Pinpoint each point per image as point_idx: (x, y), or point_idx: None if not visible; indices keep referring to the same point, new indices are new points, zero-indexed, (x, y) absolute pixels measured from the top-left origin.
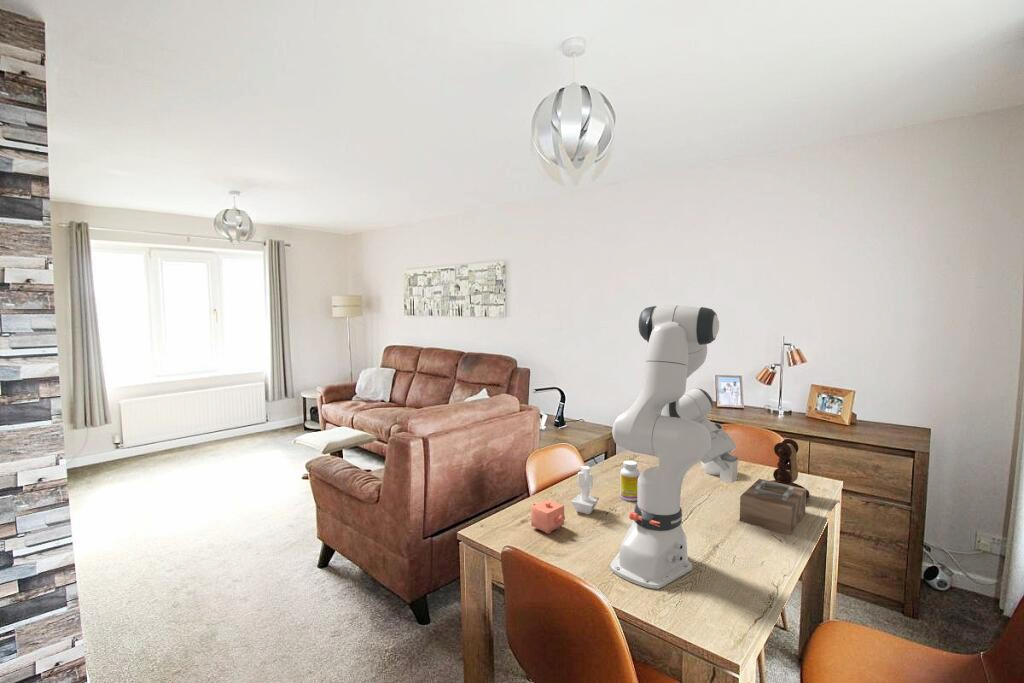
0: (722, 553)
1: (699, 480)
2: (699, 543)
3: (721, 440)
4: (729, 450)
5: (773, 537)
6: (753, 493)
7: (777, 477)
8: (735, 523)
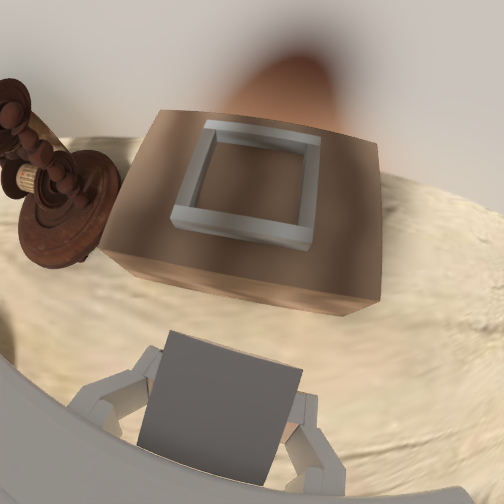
0: (498, 310)
1: None
2: (491, 362)
3: (5, 500)
4: (73, 414)
5: (386, 223)
6: (313, 254)
7: (67, 191)
8: (366, 324)
